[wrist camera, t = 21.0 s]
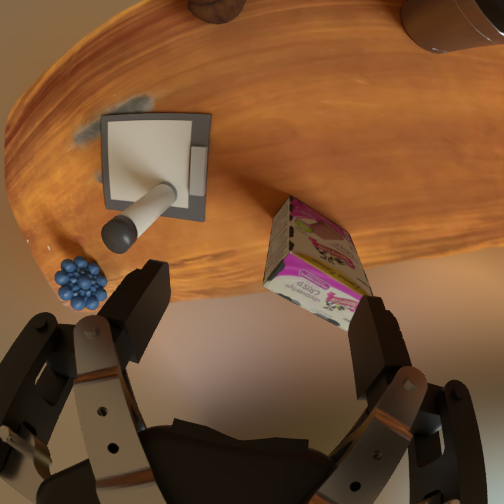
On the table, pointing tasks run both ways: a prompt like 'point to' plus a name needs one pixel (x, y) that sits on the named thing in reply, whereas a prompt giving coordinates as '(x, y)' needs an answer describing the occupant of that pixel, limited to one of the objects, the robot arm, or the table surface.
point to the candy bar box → (314, 264)
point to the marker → (137, 218)
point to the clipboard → (156, 159)
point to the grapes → (81, 283)
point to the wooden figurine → (216, 10)
